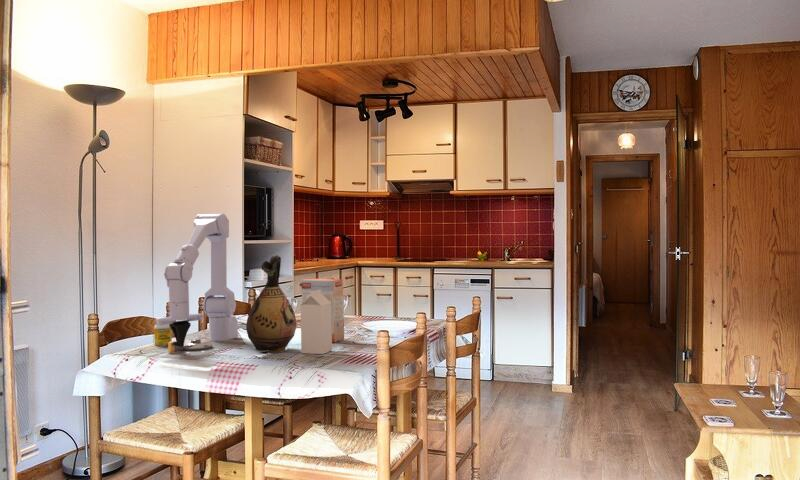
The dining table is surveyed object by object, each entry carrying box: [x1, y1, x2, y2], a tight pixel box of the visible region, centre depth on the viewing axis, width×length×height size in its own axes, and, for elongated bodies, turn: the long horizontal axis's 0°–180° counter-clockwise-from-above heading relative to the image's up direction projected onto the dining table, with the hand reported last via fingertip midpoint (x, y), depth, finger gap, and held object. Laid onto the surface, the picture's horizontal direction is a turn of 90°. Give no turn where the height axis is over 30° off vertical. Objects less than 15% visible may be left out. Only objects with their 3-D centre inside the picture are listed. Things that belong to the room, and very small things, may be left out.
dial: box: [167, 338, 213, 352], centre depth 211 cm, size 15×10×3 cm
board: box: [150, 341, 241, 357], centre depth 213 cm, size 20×20×1 cm
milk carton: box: [300, 290, 333, 355], centre depth 207 cm, size 7×7×19 cm
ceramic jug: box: [245, 255, 297, 354], centre depth 211 cm, size 17×15×30 cm
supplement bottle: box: [153, 317, 173, 347], centre depth 221 cm, size 5×5×10 cm
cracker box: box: [301, 278, 345, 343], centre depth 229 cm, size 14×6×21 cm, turn 58°
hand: (180, 346), depth 206 cm, fingers closed, pressing on dial
